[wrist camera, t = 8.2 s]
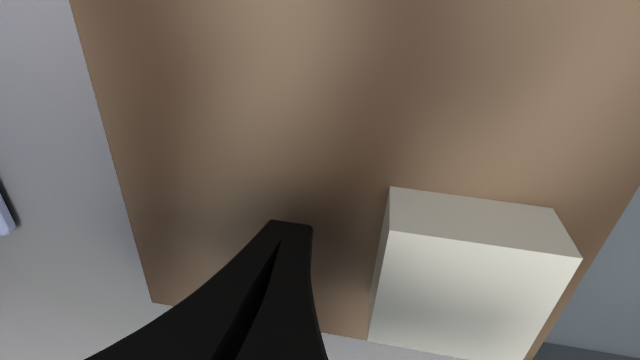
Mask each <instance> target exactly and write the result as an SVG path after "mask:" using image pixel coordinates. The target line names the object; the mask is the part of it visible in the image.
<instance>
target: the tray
mask: <svg viewBox="0 0 640 360" xmlns="http://www.w3.org/2000/svg"><path fill="white" fill-rule="evenodd" d="M533 360H640V186H639V188H638V189H637V191H636V193H635V194H634V196H633V197H632V199H631V201H630V202H629V204H628V206H627V207H626V209H625V210H624V212H623V214H622V215H621V217H620V219H619V220H618V222H617V223H616V225H615V227H614V228H613V230H612V232H611V233H610V235H609V236H608V238H607V240H606V241H605V243H604V244H603V246H602V248H601V249H600V251H599V253H598V254H597V256H596V257H595V259H594V261H593V262H592V264H591V266H590V267H589V269H588V270H587V272H586V274H585V275H584V277H583V279H582V280H581V282H580V283H579V285H578V287H577V288H576V290H575V291H574V293H573V295H572V296H571V298H570V300H569V301H568V303H567V304H566V306H565V308H564V309H563V311H562V313H561V314H560V316H559V317H558V319H557V321H556V322H555V324H554V326H553V327H552V329H551V330H550V332H549V334H548V335H547V337H546V339H545V340H544V342H543V343H542V345H541V347H540V348H539V350H538V351H537V353H536V355H535V356H534V358H533Z"/></svg>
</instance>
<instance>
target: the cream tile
mask: <svg viewBox="0 0 640 360" xmlns="http://www.w3.org/2000/svg"><path fill="white" fill-rule="evenodd" d="M582 260H583V258H582V256H581V254H580V253H579V251H578V249H577V248H576V246H575V244H574V243H573V241H572V239H571V238H570V236H569V234H568V233H567V231H566V229H565V228H564V226H563V224H562V223H561V221H560V219H559V218H558V216H557V214H556V213H555V211H554V209H553V208H548V207H540V206H533V205H526V204H518V203H511V202H503V201H496V200H488V199H481V198H474V197H466V196H459V195H451V194H444V193H437V192H429V191H422V190H414V189H407V188H399V187H392V186H390V189H389V194H388V199H387V204H386V210H385V215H384V220H383V226H382V231H381V236H380V242H379V247H378V252H377V258H376V263H375V268H374V273H373V279H372V284H371V289H370V300H369V316H368V332H367V342H371V343H377V344H383V345H388V346H394V347H400V348H405V349H411V350H416V351H422V352H428V353H433V354H439V355H444V356H450V357H456V358H461V359H467V360H523V359H524V357H525V356H526V354H527V352H528V351H529V349H530V347H531V346H532V344H533V342H534V341H535V339H536V337H537V335H538V334H539V332H540V330H541V329H542V327H543V325H544V324H545V322H546V320H547V319H548V317H549V315H550V314H551V312H552V310H553V309H554V307H555V305H556V303H557V302H558V300H559V298H560V297H561V295H562V293H563V292H564V290H565V288H566V287H567V285H568V283H569V282H570V280H571V278H572V277H573V275H574V273H575V271H576V270H577V268H578V266H579V265H580V263H581V261H582Z"/></svg>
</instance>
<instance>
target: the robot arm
mask: <svg viewBox="0 0 640 360" xmlns="http://www.w3.org/2000/svg"><path fill="white" fill-rule="evenodd" d="M14 229H15V223H14V221H13V219H12V217H11V214H10V212H9V210H8V208H7V206H6V204H5V202H4V200H3V198H2V196H1V194H0V235H8V234H9V233H10V232H12V231H13V230H14ZM312 240H313V228H312V227H311V226H310V225H306V224H299V223H292V222H286V221H279V220H272V219H271V220H270V221H268V222H267V223H266V224H265V225H264V226H263V228H262V229H261V230H260V231H259V232H258V233H257V234H256V235H255V236H254V237H253V238H252V239H251V240H250V242H249V243H248V244H247V245H246V246H245V247H244V248H243V249H242V250H241V251H240V252H239V253H238V254H236V255H235V256H234V257H233V258H232V259H231V260H230V261H229V262H228V263H227V264H226V265H225V266H224V267H223V268H222V269H220V270H219V271H218V272H217V273H216V274H215V275H214V276H212V277H211V278H210V279H209V280H208V281H207V282H205V283H204V284H203V285H202V286H201V287H199V288H198V289H197V290H196V291H194V292H193V293H192V294H190V295H189V296H188V297H186V298H185V299H184V300H182V301H181V302H180V303H178V304H177V305H175V306H174V307H173V308H171V309H170V310H168V311H167V312H165V313H164V314H162V315H161V316H159V317H158V318H156V319H155V320H153V321H152V322H150V323H149V324H147V325H145V326H144V327H142V328H141V329H139V330H137V331H136V332H134V333H132V334H130V335H129V336H127V337H125V338H123V339H122V340H120V341H118V342H116V343H115V344H113V345H111V346H109V347H107V348H106V349H104V350H102V351H100V352H98V353H96V354H94V355H92V356H91V357H89V358H86V359H84V360H328V357H327V354H326V351H325V347H324V343H323V340H322V336H321V332H320V328H319V323H318V319H317V314H316V309H315V304H314V297H313V291H312V284H311V273H310V272H311V257H312Z"/></svg>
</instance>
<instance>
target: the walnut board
mask: <svg viewBox="0 0 640 360" xmlns="http://www.w3.org/2000/svg"><path fill="white" fill-rule="evenodd" d="M69 2H70V6H71V9H72V13H73V17H74V20H75V24H76V28H77V31H78V35H79V38H80V42H81V46H82V49H83V53H84V57H85V60H86V64H87V68H88V71H89V75H90V78H91V82H92V86H93V89H94V93H95V97H96V100H97V104H98V108H99V111H100V115H101V119H102V122H103V126H104V129H105V133H106V137H107V140H108V144H109V148H110V151H111V155H112V159H113V162H114V166H115V169H116V173H117V177H118V180H119V184H120V188H121V191H122V195H123V199H124V202H125V206H126V209H127V213H128V217H129V220H130V224H131V228H132V231H133V235H134V239H135V242H136V246H137V250H138V253H139V257H140V260H141V264H142V268H143V271H144V275H145V279H146V282H147V286H148V290H149V293H150V297H151V300H152V302H154V303H160V304H165V305H171V306H175V305H177V304H178V303H180V302H181V301H182V300H184V299H185V298H186V297H188V296H189V295H190V294H192V293H193V292H194V291H196V290H197V289H198V288H199V287H201V286H202V285H203V284H204V283H205V282H207V281H208V280H209V279H210V278H211V277H212V276H214V275H215V274H216V273H217V272H218V271H219V270H220V269H222V268H223V267H224V266H225V265H226V264H227V263H228V262H229V261H230V260H231V259H232V258H233V257H234V256H235V255H236V254H238V253H239V252H240V251H241V250H242V249H243V248H244V247H245V246H246V245H247V244H248V243H249V242H250V240H251V239H252V238H253V237H254V236H255V235H256V234H257V233H258V232H259V231H260V230H261V229H262V228H263V226H264V225H265V224H266V223H267V222H268V221H270V220H271V219H272V220H279V221H286V222H292V223H299V224H306V225H310V226H311V227H312V228H313V240H312V257H311V272H310V273H311V284H312V291H313V297H314V304H315V309H316V314H317V319H318V323H319V328H320V332H323V333H328V334H334V335H340V336H345V337H351V338H356V339H362V340H367V332H368V316H369V300H370V289H371V284H372V279H373V273H374V268H375V263H376V258H377V252H378V247H379V242H380V236H381V231H382V226H383V220H384V215H385V210H386V204H387V199H388V194H389V189H390V186H392V187H399V188H407V189H414V190H422V191H429V192H437V193H444V194H451V195H459V196H466V197H474V198H481V199H488V200H496V201H503V202H511V203H518V204H526V205H533V206H540V207H548V208H553V209H554V211H555V213H556V214H557V216H558V218H559V219H560V221H561V223H562V224H563V226H564V228H565V229H566V231H567V233H568V234H569V236H570V238H571V239H572V241H573V243H574V244H575V246H576V248H577V249H578V251H579V253H580V254H581V256H582V258H583V260H582V261H581V263H580V265H579V266H578V268H577V270H576V271H575V273H574V275H573V277H572V278H571V280H570V282H569V283H568V285H567V287H566V288H565V290H564V292H563V293H562V295H561V297H560V298H559V300H558V302H557V303H556V305H555V307H554V309H553V310H552V312H551V314H550V315H549V317H548V319H547V320H546V322H545V324H544V325H543V327H542V329H541V330H540V332H539V334H538V335H537V337H536V339H535V341H534V342H533V344H532V346H531V347H530V349H529V351H528V352H527V354H526V356H525V357H524V359H523V360H533V358H534V356H535V355H536V353H537V351H538V350H539V348H540V347H541V345H542V343H543V342H544V340H545V339H546V337H547V335H548V334H549V332H550V330H551V329H552V327H553V326H554V324H555V322H556V321H557V319H558V317H559V316H560V314H561V313H562V311H563V309H564V308H565V306H566V304H567V303H568V301H569V300H570V298H571V296H572V295H573V293H574V291H575V290H576V288H577V287H578V285H579V283H580V282H581V280H582V279H583V277H584V275H585V274H586V272H587V270H588V269H589V267H590V266H591V264H592V262H593V261H594V259H595V257H596V256H597V254H598V253H599V251H600V249H601V248H602V246H603V244H604V243H605V241H606V240H607V238H608V236H609V235H610V233H611V232H612V230H613V228H614V227H615V225H616V223H617V222H618V220H619V219H620V217H621V215H622V214H623V212H624V210H625V209H626V207H627V206H628V204H629V202H630V201H631V199H632V197H633V196H634V194H635V193H636V191H637V189H638V188H639V186H640V0H69Z"/></svg>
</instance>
